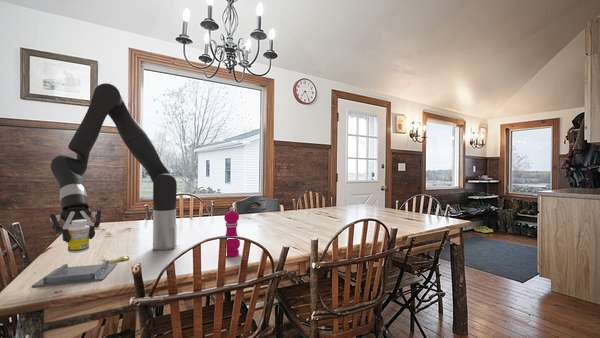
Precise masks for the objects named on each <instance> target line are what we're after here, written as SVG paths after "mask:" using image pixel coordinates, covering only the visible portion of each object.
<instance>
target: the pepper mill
mask: <svg viewBox="0 0 600 338" xmlns="http://www.w3.org/2000/svg"><path fill="white" fill-rule="evenodd" d="M223 219H224V221H225V227H226V233H225V236H238V232H237V229H238V228H237V227H238V221H239V219H240V214H239V213H238V211H235V207H232V206H231V207H229V210H228V211H227V212H226V213H224V217H223ZM225 236H224V237H225ZM238 237H239V236H238ZM240 246H241V241H240V239H239V240H238V239H228V240H227V257H226V258H234V257H238V256H239V254H240V250H239V248H240Z"/></svg>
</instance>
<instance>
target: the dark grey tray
mask: <svg viewBox="0 0 600 338" xmlns="http://www.w3.org/2000/svg"><path fill="white" fill-rule="evenodd" d="M108 261H109V260H104V261H103V262H102V263H101V264H91V265H90V264H89V265H79V266H68V263H64V264H62V265H61V266H59V267H57V268H56V269H54V270H53V271H51V272H49V273H48V274H46V275H45V276H44V277H42V278H40V279H39V280H38V281H36V282H35V283H33V284H32V285H31V288H40V287H48V286H58V285H67V284H79V283H80V284H81V283H85V282H86V283H87V282H90V283H91V282H97V281H103V280H104V279H106V278H107V277H108V275H109V274H110V273H111V272H112V271H113V270H114V269H115V268H116V267H117V266H118V262H115V263H111V264H109V263H108Z"/></svg>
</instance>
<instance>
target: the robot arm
mask: <svg viewBox="0 0 600 338" xmlns="http://www.w3.org/2000/svg"><path fill="white" fill-rule="evenodd" d="M107 116H109V118H110V119H111V120H112V123H114V125H115V127H116V129H117V132H118V134H119V136H120V137H121V140H122V141H123V143H124V144H125V146H126V147H127V149H128V151H129V153H130V154H131V155H132V156H133V157H134V159H136V160H137V162H138V163H139V164H140V165H141V167H143V168H144V170H145V171H146V172H147V174H148V176H149V178H150V180H151V182H152V207H153V208H152V212H153V213H152V216H153V217H152V250H155V251H166V250H171V249H176V247H177V242H178V241H177V238H178V237H177V236H178V234H177V231H178V230H177V229H178V228H177V202H178V201H177V197H178V191H177V190H178V188H177V187H178V184H177V180H176V178H175V177H174V175H173V174H171V173H170V171H169V169H167V167H166V166H165V165H164V163H163V162H162V160H161V158H160V156H159V154H158V151H157V150H156V147H155V145H154V144H153V142H152V140H151V139H150V138H149V136H148V134H147V133H146V131H145V130H144V129H143V127H142V126H141V125H140V124H139V123H138V121H137V120H136V119H135V118H134V116H132V114H131V113H130V111H129V109H128V108H127V105H126V103H125V101H124V99H123V96H122V93H121V91H120V89H119V88H118V87H116V86H115V85H114V84H112V83H106V82H105V83H101V84H98V85H97V86H96V87H95V88H94V90H93V94H92V97H91V100H90V103H89V106H88V109H87V111H86V113H85V115H84V116H83V119H82V120H81V123H80V124H79V126H78V128H77V129H76V131H75V132H74V134H73V136H72V138H71V140H70V141H69V143H68V145H67V148H68V150H70V151H71V152H73V153H75V155H76V158H74V157H71V156H68V155H63V154H62V155H61V154H60V155H56V156H55V157H54V158H53V159H52V160H51V162H50V171H51V173H52V174H53V176H54V178H55V179H56V181H57V183H58V185H59V202H60V214H57V215H55V214H54V213H52V214H50V216H49V222H50V225H51V228H52V229H53V232H54V233H56V234H58V233H61V236H62V237H61V238H62V241H63V242H65V243H67V244H68V242H69V231H68V228H69V227H71V221H73V220H80V219H85V220H87V224H86V225H89V227H90V232H89V240H92V239H94V237H95V236H96V230H95V229H98V228H99V227H100V224H101V217H102V210H100V209H99V210H97V211H92V210H91V209H90V205H89V200H88V193H87V191H86V188H85V181H84V179H83V177H82V176H83V175H84V174H85V173H86V171H87V169H88V164H89V160H90V159H89V158H90V154H91V151H92V150H93V147H94V146H95V144H96V142H97V140H98V138H99V135H100V133H101V130H102V127H103V125H104V121H105V120H106V118H107ZM91 216H92V217H93V219H94V222H93V221H92V219H91V218H90V217H91ZM60 219H61V220H63V221H64V224H63V226H60V224H59V223H60V222H59V221H60Z"/></svg>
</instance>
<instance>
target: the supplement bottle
mask: <svg viewBox="0 0 600 338" xmlns="http://www.w3.org/2000/svg"><path fill="white" fill-rule="evenodd" d="M86 224H87V220H85V219H80V220H73V221H71V225H70V227H69V228H68V231H69V242H67V252H68V253H70V254H77V253H78V254H79V253H83V252H86V251H88V250H89V249H90V238H89V232H90V227H89V225H86Z"/></svg>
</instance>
